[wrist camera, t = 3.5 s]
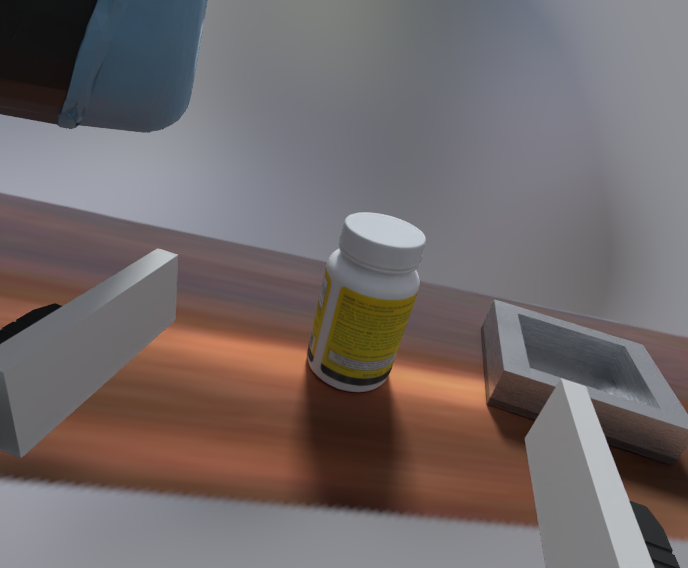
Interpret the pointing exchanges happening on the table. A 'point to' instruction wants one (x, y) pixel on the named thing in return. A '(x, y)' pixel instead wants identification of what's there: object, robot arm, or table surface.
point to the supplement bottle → (365, 301)
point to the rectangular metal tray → (582, 378)
